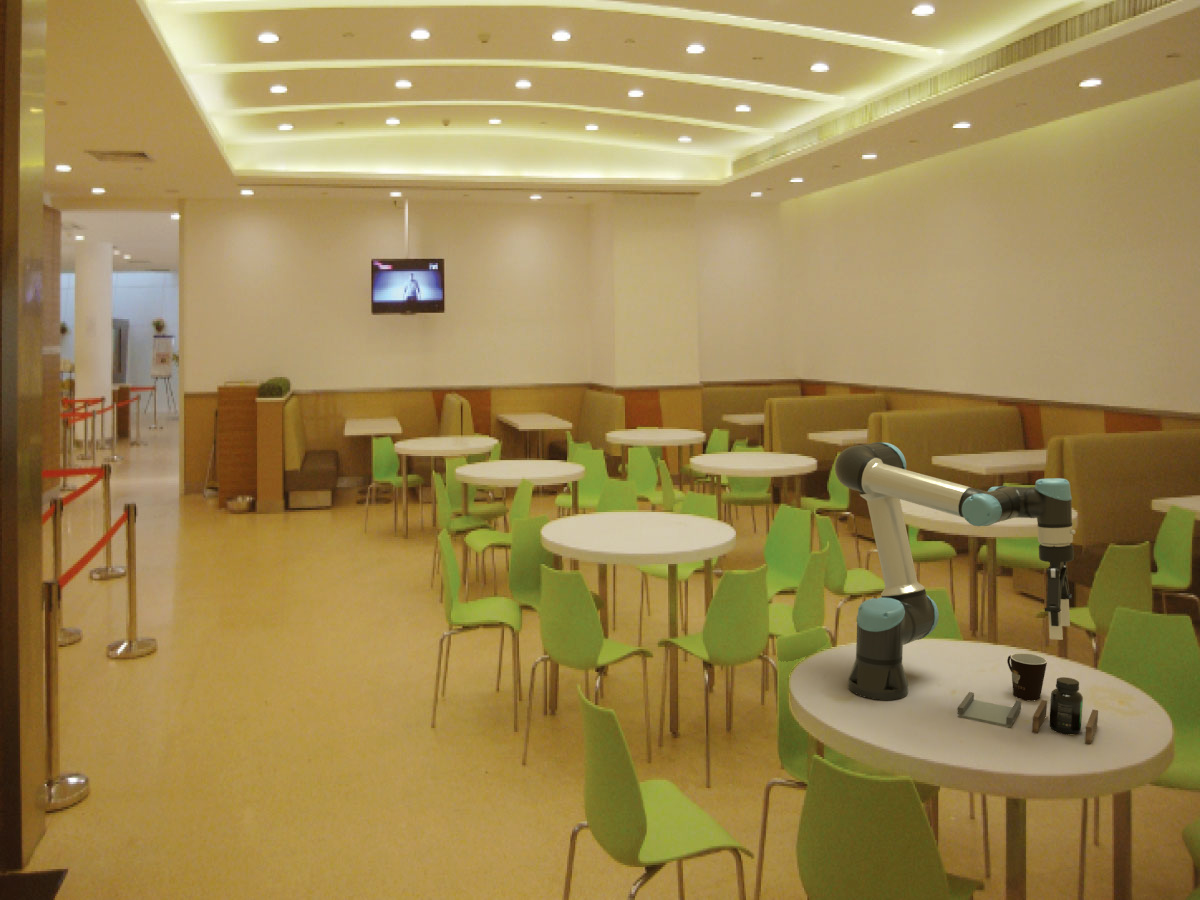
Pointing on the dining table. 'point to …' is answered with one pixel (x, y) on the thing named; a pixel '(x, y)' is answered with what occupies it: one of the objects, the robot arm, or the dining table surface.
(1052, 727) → the supplement bottle
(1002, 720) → the slate pad
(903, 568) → the robot arm
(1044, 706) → the walnut cradle
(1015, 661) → the coffee mug
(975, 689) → the dining table surface
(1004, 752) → the dining table surface
